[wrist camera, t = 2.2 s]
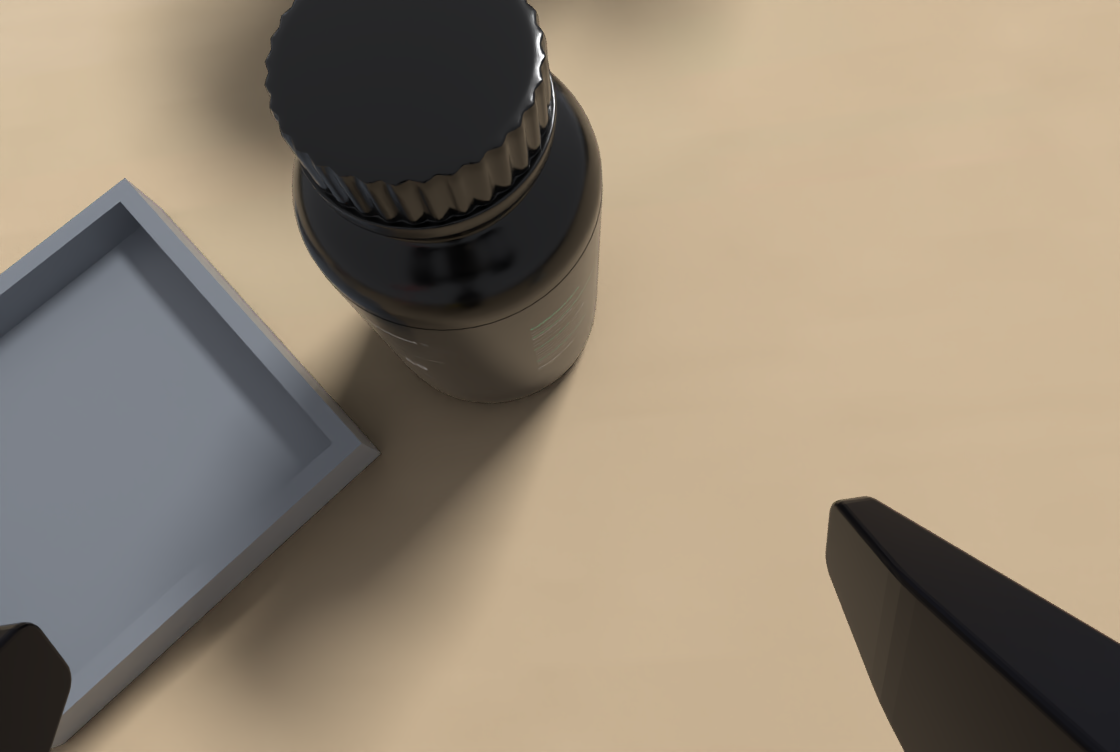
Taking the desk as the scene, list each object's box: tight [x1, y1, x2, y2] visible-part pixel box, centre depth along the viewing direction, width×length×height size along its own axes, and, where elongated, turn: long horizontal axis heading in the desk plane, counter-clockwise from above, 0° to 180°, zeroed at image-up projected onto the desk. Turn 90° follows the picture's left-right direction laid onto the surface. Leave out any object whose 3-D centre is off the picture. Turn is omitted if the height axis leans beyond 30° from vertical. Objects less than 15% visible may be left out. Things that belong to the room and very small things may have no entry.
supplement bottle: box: [265, 0, 602, 403], centre depth 17 cm, size 7×7×12 cm
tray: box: [0, 178, 381, 748], centre depth 21 cm, size 12×12×2 cm
